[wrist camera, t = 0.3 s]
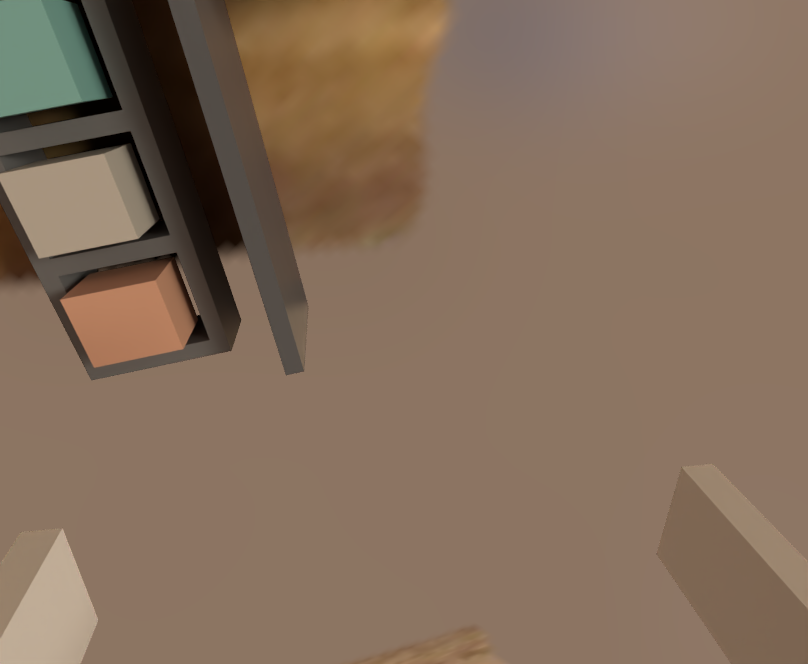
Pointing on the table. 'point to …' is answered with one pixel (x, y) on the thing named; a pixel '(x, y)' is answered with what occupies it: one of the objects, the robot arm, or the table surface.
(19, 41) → the key
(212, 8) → the screen
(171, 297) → the key
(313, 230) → the table surface
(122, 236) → the grey block
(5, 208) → the key frame
